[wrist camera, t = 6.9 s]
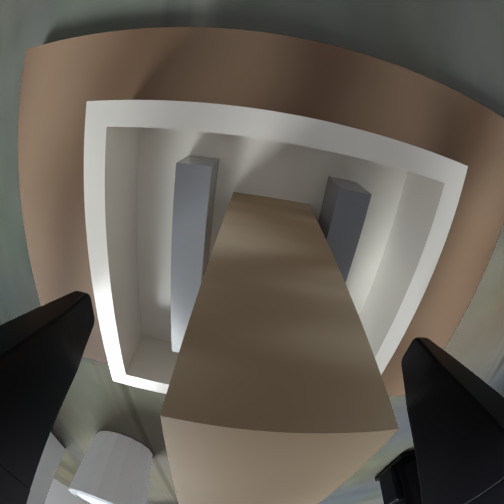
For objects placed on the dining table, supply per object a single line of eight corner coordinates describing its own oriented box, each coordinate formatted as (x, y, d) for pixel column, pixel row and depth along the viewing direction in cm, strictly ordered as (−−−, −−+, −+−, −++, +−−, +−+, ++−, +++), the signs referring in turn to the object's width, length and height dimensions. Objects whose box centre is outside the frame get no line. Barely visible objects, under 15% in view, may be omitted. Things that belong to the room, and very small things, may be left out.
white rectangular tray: (421, 149, 9) (468, 166, 7) (345, 363, 14) (357, 411, 11) (131, 101, 9) (86, 101, 6) (134, 335, 13) (112, 380, 11)
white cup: (82, 418, 20) (56, 481, 14) (155, 440, 20) (138, 511, 14) (99, 449, 23) (81, 502, 17) (162, 468, 23) (149, 525, 17)
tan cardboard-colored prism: (309, 204, 10) (399, 428, 3) (280, 323, 12) (289, 524, 5) (233, 191, 10) (159, 415, 2) (218, 315, 12) (181, 515, 5)
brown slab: (512, 129, 9) (525, 132, 8) (408, 383, 16) (412, 394, 15) (39, 50, 8) (26, 49, 7) (61, 336, 15) (54, 347, 14)
